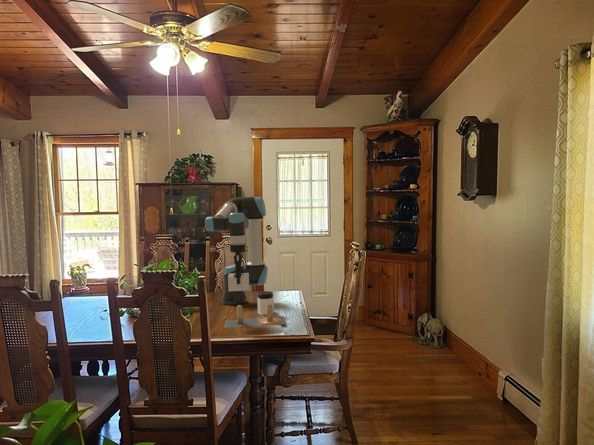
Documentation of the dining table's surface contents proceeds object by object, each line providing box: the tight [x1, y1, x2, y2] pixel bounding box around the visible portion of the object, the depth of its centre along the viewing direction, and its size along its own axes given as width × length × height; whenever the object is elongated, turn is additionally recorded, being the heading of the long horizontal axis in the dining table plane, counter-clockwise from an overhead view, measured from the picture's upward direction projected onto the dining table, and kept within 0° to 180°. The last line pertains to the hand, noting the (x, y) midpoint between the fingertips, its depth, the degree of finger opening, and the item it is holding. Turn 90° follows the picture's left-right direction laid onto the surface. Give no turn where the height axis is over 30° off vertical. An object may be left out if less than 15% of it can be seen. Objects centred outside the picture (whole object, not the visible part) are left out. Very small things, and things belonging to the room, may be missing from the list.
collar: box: [228, 273, 250, 292], centre depth 211 cm, size 10×10×7 cm
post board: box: [223, 304, 287, 329], centre depth 213 cm, size 30×14×10 cm, turn 96°
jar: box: [256, 290, 275, 316], centre depth 231 cm, size 9×8×12 cm
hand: (239, 288), depth 211 cm, fingers closed on collar, 10 cm apart
